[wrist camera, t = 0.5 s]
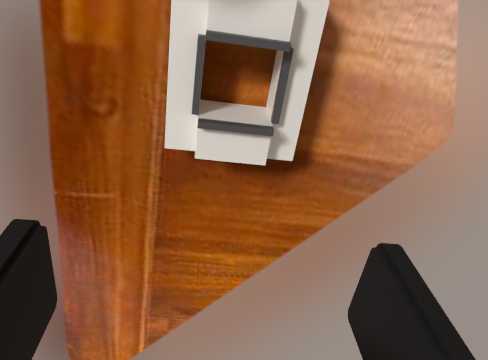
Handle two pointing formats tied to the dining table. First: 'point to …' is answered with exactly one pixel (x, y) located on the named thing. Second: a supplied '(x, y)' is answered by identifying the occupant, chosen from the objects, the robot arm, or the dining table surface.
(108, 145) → the dining table surface
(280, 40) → the socket
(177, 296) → the dining table surface
